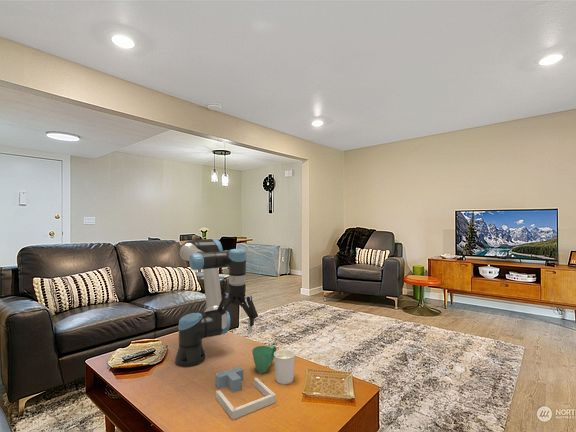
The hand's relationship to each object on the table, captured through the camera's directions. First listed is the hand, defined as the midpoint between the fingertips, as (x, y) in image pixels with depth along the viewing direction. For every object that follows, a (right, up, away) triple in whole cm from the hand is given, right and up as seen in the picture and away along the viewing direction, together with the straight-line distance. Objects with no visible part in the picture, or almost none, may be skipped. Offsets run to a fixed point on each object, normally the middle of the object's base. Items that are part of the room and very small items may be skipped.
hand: (236, 330), depth 138 cm
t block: (-2, -24, -1) cm, 24 cm away
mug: (+12, -24, +14) cm, 30 cm away
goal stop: (+6, -24, -12) cm, 28 cm away
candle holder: (+22, -24, +3) cm, 33 cm away
